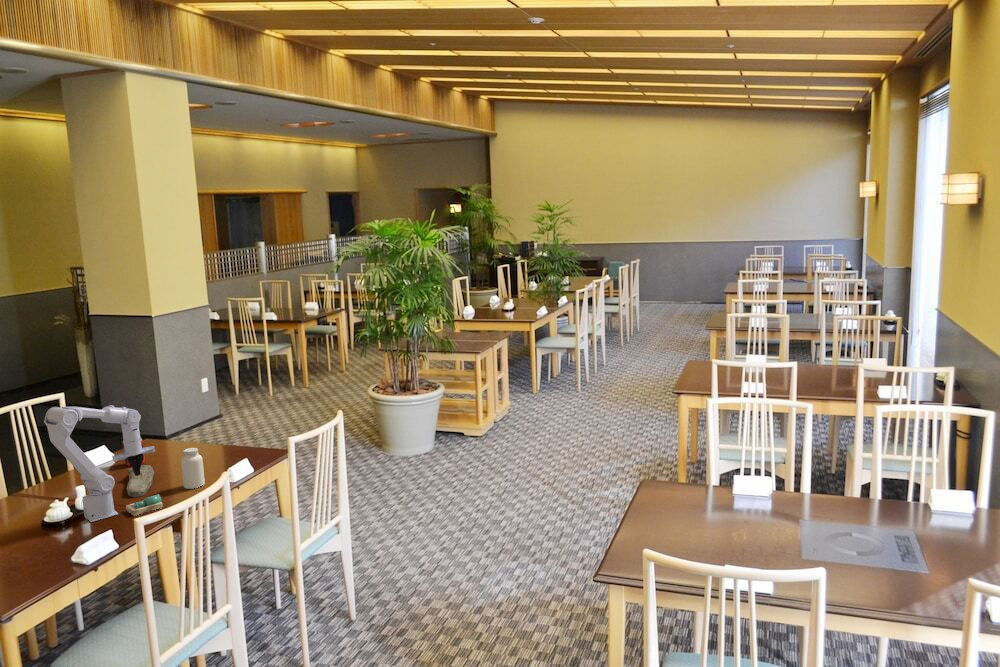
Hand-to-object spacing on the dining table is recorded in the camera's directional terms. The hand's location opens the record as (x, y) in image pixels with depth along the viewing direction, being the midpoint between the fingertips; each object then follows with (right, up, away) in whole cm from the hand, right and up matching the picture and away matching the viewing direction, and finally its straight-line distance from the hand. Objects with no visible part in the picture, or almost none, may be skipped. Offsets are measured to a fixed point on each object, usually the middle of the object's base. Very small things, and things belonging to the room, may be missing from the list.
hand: (137, 474), depth 291 cm
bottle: (+10, -9, -3) cm, 14 cm away
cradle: (+7, -11, -7) cm, 15 cm away
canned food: (-24, -4, +49) cm, 55 cm away
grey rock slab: (-9, -8, +23) cm, 26 cm away
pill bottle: (+15, -8, +16) cm, 23 cm away
